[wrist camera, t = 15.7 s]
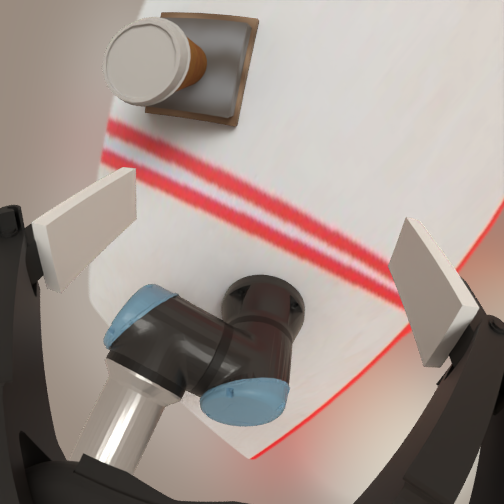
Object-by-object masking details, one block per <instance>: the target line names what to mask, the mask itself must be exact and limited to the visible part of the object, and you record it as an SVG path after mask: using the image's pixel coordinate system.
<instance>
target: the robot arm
mask: <svg viewBox="0 0 504 504" xmlns="http://www.w3.org/2000/svg"><path fill="white" fill-rule="evenodd" d="M136 219H137V216H136V169H135V168H126V167H122V168H120V169H118V170H117V171H115V172H113V173H111V174H109V175H107V176H106V177H104V178H102V179H100V180H99V181H97V182H95V183H93V184H92V185H90V186H88V187H87V188H85V189H83V190H81V191H80V192H78V193H76V194H75V195H73V196H71V197H70V198H68V199H67V200H65V201H64V202H62V203H60V204H59V205H57V206H56V207H54V208H52V209H51V210H49V211H48V212H47V213H45V214H43V215H42V216H40V217H39V218H37V219H36V220H34V221H33V222H32V223H31V224H30V225H29V226H27V227H26V228H24V223H23V218H22V212H21V207H20V206H18V205H9V206H5V207H2V208H0V504H247V503H241V502H235V501H232V502H231V501H230V502H190V501H189V502H188V501H177V500H173V499H171V498H169V497H167V496H166V495H164V494H162V493H160V492H159V491H157V490H155V489H154V488H152V487H150V486H149V485H147V484H145V483H144V482H142V481H140V480H139V479H137V478H136V477H134V476H133V474H134V472H135V470H136V468H137V466H138V464H139V461H140V459H141V457H142V455H143V453H144V451H145V449H146V446H147V444H148V442H149V440H150V438H151V436H152V434H153V432H154V429H155V427H156V425H157V423H158V421H159V419H160V416H161V414H162V412H163V410H164V408H165V407H166V406H168V405H170V404H173V403H176V402H179V401H181V399H182V397H183V394H184V392H185V391H188V392H190V393H193V394H195V395H197V396H199V397H201V398H200V406H201V410H202V411H203V413H206V415H207V416H208V417H209V418H211V419H213V420H215V421H217V422H220V423H223V424H227V425H233V426H257V425H262V424H266V423H269V422H271V421H273V420H275V419H276V418H278V417H279V416H280V415H281V414H282V412H283V411H284V409H285V406H286V401H287V396H288V393H289V390H290V387H289V379H290V367H291V355H292V343H293V342H294V340H295V338H296V336H297V334H298V333H299V331H300V329H301V327H302V325H303V322H304V313H305V306H304V302H303V299H302V297H301V295H300V294H299V292H298V291H297V290H296V289H295V288H294V287H293V286H292V285H291V284H289V283H288V282H286V281H284V280H282V279H279V278H277V277H273V276H268V275H253V276H248V277H244V278H242V279H240V280H238V281H236V282H235V283H234V284H232V285H231V286H230V288H229V289H228V290H227V292H226V294H225V297H224V300H223V303H222V319H223V320H221V319H219V318H217V317H215V316H213V315H211V314H210V313H208V312H206V311H204V310H202V309H200V308H199V307H197V306H195V305H193V304H192V303H190V302H188V301H187V300H185V299H183V298H181V297H180V296H179V295H178V294H177V293H172V292H170V291H168V290H166V289H164V288H162V287H160V286H158V285H156V284H148V285H146V286H144V287H142V288H141V289H139V290H138V291H137V292H136V293H135V294H134V295H133V296H132V297H131V298H130V299H129V300H128V302H127V303H126V304H125V305H124V306H123V308H122V309H121V310H120V312H119V313H118V314H117V316H116V317H115V319H114V320H113V322H112V325H111V326H110V328H109V329H108V331H107V333H106V334H105V337H104V345H105V346H106V348H107V349H109V350H110V352H109V353H108V355H107V357H106V359H105V362H106V366H107V369H108V374H109V377H108V379H107V381H106V383H105V385H104V387H103V389H102V391H101V393H100V395H99V397H98V399H97V401H96V403H95V405H94V407H93V410H92V411H91V413H90V415H89V417H88V419H87V421H86V424H85V426H84V428H83V430H82V432H81V434H80V436H79V438H78V441H77V443H76V445H75V447H74V449H73V452H72V454H71V456H70V458H69V461H67V460H66V458H65V456H64V454H63V452H62V450H61V448H60V447H59V445H58V442H57V439H56V435H55V431H54V426H53V421H52V416H51V411H50V406H49V400H48V393H47V387H46V380H45V371H44V362H43V352H42V341H41V340H42V339H41V321H40V287H39V284H38V280H39V279H40V278H41V277H42V276H44V279H45V283H46V286H47V289H50V290H53V291H56V292H59V293H62V292H63V291H64V290H65V289H66V288H67V287H68V286H69V284H70V283H71V282H72V281H73V280H74V279H75V278H76V277H77V276H78V275H79V274H80V273H81V272H82V271H83V270H84V269H85V268H86V267H87V266H88V265H89V264H90V263H91V262H92V261H93V260H94V259H95V258H96V257H97V256H98V255H99V254H100V253H101V252H102V251H103V250H104V249H105V248H106V247H107V246H108V245H109V244H110V243H111V242H113V241H114V240H115V239H116V238H117V237H118V236H119V235H120V234H121V233H122V232H123V231H124V230H125V229H126V228H128V227H129V226H130V225H131V224H132V223H133V222H134V221H135V220H136ZM388 267H389V270H390V272H391V275H392V277H393V280H394V282H395V285H396V287H397V290H398V292H399V295H400V298H401V300H402V303H403V306H404V309H405V311H406V314H407V317H408V320H409V323H410V326H411V329H412V332H413V334H414V338H415V341H416V343H417V347H418V350H419V353H420V356H421V359H422V363H423V366H424V367H441V366H442V365H443V363H444V362H445V360H446V359H447V358H448V356H450V359H451V362H452V364H451V366H450V367H449V368H448V370H447V371H446V372H445V374H444V375H443V376H442V378H441V379H440V380H439V381H438V383H437V385H438V388H437V390H436V391H435V393H434V395H433V396H432V398H431V400H430V402H429V403H428V405H427V407H426V408H425V410H424V411H423V413H422V415H421V416H420V418H419V419H418V421H417V423H416V424H415V426H414V427H413V429H412V430H411V432H410V433H409V434H408V436H407V438H406V439H405V440H404V442H403V443H402V445H401V446H400V447H399V449H398V450H397V451H396V453H395V454H394V455H393V457H392V458H391V460H390V461H389V462H388V463H387V465H386V466H385V467H384V469H383V470H382V471H381V472H380V473H379V475H378V476H377V477H376V478H375V480H374V481H373V482H372V483H371V484H370V486H369V487H368V488H367V489H366V490H365V491H364V492H363V494H362V495H361V496H360V497H359V498H358V499H357V500H356V501H355V502H354V504H454V502H455V500H456V499H457V497H458V495H459V493H460V491H461V489H462V487H463V485H464V483H465V481H466V478H467V477H468V474H469V472H470V470H471V468H472V466H473V463H474V461H475V458H476V456H477V454H478V451H479V449H480V447H481V449H480V455H479V462H478V466H477V472H476V477H475V481H474V486H473V490H472V494H471V498H470V502H469V504H504V323H503V322H502V321H501V320H500V319H499V318H497V317H495V316H492V315H486V313H485V311H484V310H483V308H482V306H481V305H480V303H479V301H478V300H477V298H475V295H474V293H473V292H472V291H471V289H470V287H469V285H468V284H467V283H466V281H464V279H462V278H461V277H460V276H459V275H458V273H457V272H456V270H455V269H454V267H453V266H452V264H451V263H450V261H449V260H448V258H447V257H446V256H445V254H444V253H443V251H442V250H441V249H440V247H439V246H438V244H437V243H436V242H435V240H434V239H433V238H432V236H431V235H430V234H429V232H428V231H427V230H426V228H425V227H424V226H423V224H422V223H421V222H420V221H419V220H416V219H412V218H408V217H406V218H405V221H404V224H403V227H402V230H401V233H400V235H399V238H398V241H397V244H396V247H395V249H394V252H393V255H392V257H391V260H390V262H389V265H388Z"/></svg>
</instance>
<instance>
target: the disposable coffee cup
mask: <svg viewBox="0 0 504 504" xmlns="http://www.w3.org/2000/svg"><path fill="white" fill-rule="evenodd" d="M102 67H103V75H104V80H105V82H106V84H107V86H108V88H109V89H110V90H111V91H112V93H113V94H114V95H115V96H117V97H118V98H120V99H121V100H123V101H124V102H126V103H129V104H131V105H136V106H148V105H153V104H156V103H159V102H161V101H163V100H165V99H166V98H168V97H169V96H171V95H172V94H173V93H174V92H176V91H179V90H181V89H183V88H186V87H188V86H191V85H193V84H195V83H196V82H198V81H199V80H200V79H201V78H202V76H203V75H204V73H205V71H206V67H207V59H206V55H205V53H204V51H203V50H202V49H201V48H200V47H199V46H198V45H196V44H195V43H194V42H193V41H191V40H190V39H189V38H188V37H186V35H185V34H184V32H183V31H182V30H181V29H180V28H179V26H178V25H176V24H175V23H173V22H171V21H169V20H167V19H164V18H159V17H149V18H143V19H140V20H137V21H135V22H133V23H131V24H129V25H127V26H125V27H124V28H122V29H121V30H120V31H119V32H118V33H117V34H116V35H115V36H114V37H113V38H112V40H111V41H110V42H109V44H108V46H107V48H106V51H105V55H104V58H103V65H102Z"/></svg>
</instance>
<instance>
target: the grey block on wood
mask: <svg viewBox="0 0 504 504" xmlns="http://www.w3.org/2000/svg"><path fill="white" fill-rule="evenodd" d="M160 18H164V19H167V20H169V21H171V22H173V23H175V24H176V25H178V26H179V28H180V29H181V30H182V31H183V32H184V34H185V35H186V37H188V38H189V39H190V40H191V41H193V42H194V43H195V44H196V45H198V46H199V47H200V48H201V49H202V50H203V51H204V53H205V55H206V59H207V67H206V71H205V73H204V75H203V76H202V78H201V79H200V80H199V81H198V82H196V83H195V84H193V85H191V86H188V87H186V88H183V89H181V90H179V91H176V92H174V93H173V94H172V95H171V96H169V97H168V98H166V99H165V100H163V101H161V102H159V103H156V104H153V105H148V106H146V107H145V113H151V114H160V115H168V116H175V117H182V118H189V119H195V120H202V121H208V122H214V123H219V124H225V125H230V126H237V125H238V119H239V114H240V109H241V104H242V99H243V94H244V89H245V84H246V79H247V75H248V70H249V65H250V60H251V56H252V51H253V47H254V42H255V37H256V33H257V29H258V24H259V20H258V19H256V18H248V17H240V16H231V15H220V14H206V13H178V12H163V13H161V17H160Z"/></svg>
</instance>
